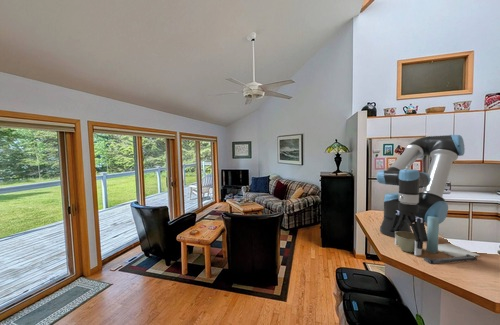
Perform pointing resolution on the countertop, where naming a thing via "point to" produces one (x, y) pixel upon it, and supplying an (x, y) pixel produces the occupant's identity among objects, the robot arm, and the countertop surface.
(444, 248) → the coaster
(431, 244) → the dowel
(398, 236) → the beige bowl
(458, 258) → the rail
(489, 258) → the countertop surface
